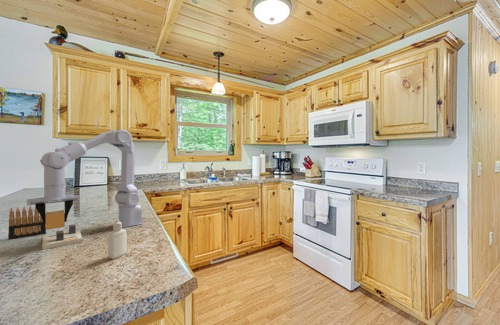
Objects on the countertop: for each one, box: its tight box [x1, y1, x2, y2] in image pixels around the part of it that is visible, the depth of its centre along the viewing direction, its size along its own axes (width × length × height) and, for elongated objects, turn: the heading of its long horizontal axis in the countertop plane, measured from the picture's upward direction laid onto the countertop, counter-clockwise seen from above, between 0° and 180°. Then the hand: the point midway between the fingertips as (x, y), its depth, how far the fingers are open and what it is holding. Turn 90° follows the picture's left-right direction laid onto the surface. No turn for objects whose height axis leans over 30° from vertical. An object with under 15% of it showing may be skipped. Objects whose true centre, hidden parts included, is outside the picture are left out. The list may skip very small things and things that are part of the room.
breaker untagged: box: [68, 224, 77, 234], centre depth 90 cm, size 2×3×3 cm, turn 40°
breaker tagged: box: [55, 229, 65, 241], centre depth 83 cm, size 2×3×3 cm, turn 40°
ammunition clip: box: [7, 205, 47, 241], centre depth 90 cm, size 11×2×12 cm, turn 129°
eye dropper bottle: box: [107, 218, 128, 260], centre depth 73 cm, size 4×6×12 cm
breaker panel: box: [41, 229, 83, 251], centre depth 86 cm, size 11×13×2 cm
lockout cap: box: [46, 209, 66, 231], centre depth 82 cm, size 5×6×5 cm
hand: (55, 222), depth 82 cm, fingers closed on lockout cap, 5 cm apart
